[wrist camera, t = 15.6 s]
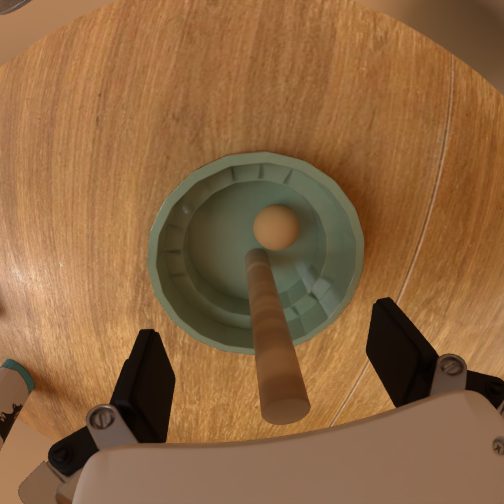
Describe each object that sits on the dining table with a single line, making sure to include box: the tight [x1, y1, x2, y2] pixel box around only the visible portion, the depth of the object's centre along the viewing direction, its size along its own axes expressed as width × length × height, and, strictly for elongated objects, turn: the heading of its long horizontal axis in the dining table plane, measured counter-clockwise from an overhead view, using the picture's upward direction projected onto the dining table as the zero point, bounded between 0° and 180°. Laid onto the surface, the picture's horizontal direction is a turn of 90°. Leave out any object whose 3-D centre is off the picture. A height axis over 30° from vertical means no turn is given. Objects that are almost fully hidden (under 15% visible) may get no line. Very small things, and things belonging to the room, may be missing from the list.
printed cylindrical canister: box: [0, 359, 34, 450], centre depth 24 cm, size 7×7×15 cm
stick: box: [245, 249, 310, 425], centre depth 17 cm, size 2×2×16 cm
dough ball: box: [253, 204, 299, 251], centre depth 22 cm, size 4×4×4 cm
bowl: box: [147, 150, 365, 355], centre depth 22 cm, size 15×15×6 cm
